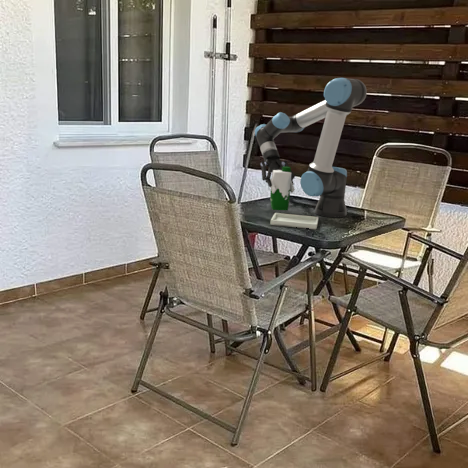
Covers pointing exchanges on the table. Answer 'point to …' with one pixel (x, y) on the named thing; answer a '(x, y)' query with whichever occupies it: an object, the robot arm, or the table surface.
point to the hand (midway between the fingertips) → (283, 191)
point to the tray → (294, 221)
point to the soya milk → (281, 188)
